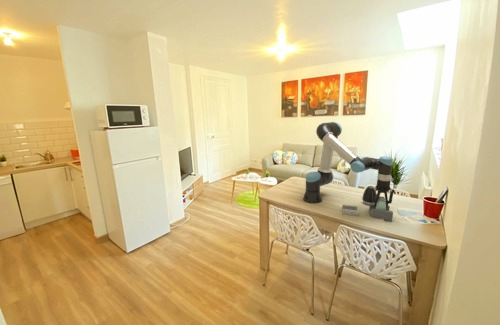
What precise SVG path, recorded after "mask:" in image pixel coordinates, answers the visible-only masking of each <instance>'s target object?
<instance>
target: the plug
mask: <svg viewBox="0 0 500 325" xmlns="http://www.w3.org/2000/svg"><path fill="white" fill-rule="evenodd" d="M377 202H378V209H380V210H385V204H386V202H385V196H381V195H380V196H379V199H378V201H377Z"/></svg>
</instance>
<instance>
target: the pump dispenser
mask: <svg viewBox="0 0 500 325" xmlns="http://www.w3.org/2000/svg"><path fill="white" fill-rule="evenodd" d="M372 187H374V186H372V185H368V186H366V188H365V190H364V192H363V194H362V197H361V199H362V202H363V204H364V205H367V206H369V204H370V203H375V202H373V201H372ZM377 191H378V190H377V189H376V190H375V197H374V200H375V198H376V195H377Z"/></svg>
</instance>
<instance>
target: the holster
mask: <svg viewBox="0 0 500 325" xmlns="http://www.w3.org/2000/svg"><path fill="white" fill-rule="evenodd" d="M341 211H342V215H348V216H355V217H359V214H360V213H359V212H360V211H359V210H358V205H352V204H342V210H341Z"/></svg>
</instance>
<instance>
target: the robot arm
mask: <svg viewBox="0 0 500 325" xmlns="http://www.w3.org/2000/svg"><path fill="white" fill-rule="evenodd" d="M342 131H343V128H342V126H341V124H340V123H338V122H336V121H331V122H330V121H329V122H322V123H320V124H319V125H318V126H317V128H316V130H315V132H316V136H317V138H318V139H319V140H320V141H322V142H323V145H322V153H321V157H320V165H319V167H318V168H317V171H310V172H309V171H308V172H307V174H306V175H305V191H304V194H303V198H302V199H303V201H304V202H306V203H310V204H319V203H321V202H322V201H323V196H322V193H321V187H322V186H326V185H329V184H331V183H332V182H333V181H334V174H333V170H332V169H331V165H332V161H333V155H334V151H335V153H336V154H338V155H339V156H340V157H341V158H342V159H343V160H345V162H346V163H347V164H348V165H349V166H350V170H351V172H353V173H357V174H358V173H363V172H364V171H369V170H376V171H377V177H376V178H377V179H376V185H375V186H373V187H372V201H373V202H375V203H374V206H375V207H376V209H378V202H377V201H378V199H379V196H381V194H383V195H384V198H385V202H386V204H385V210H386V208H388V205H390V204H392V202H393V197H394V193H395V189H394V188H391V180H392V179H391V178H392V171H393V165H394V164H393V162H394V161H393V160H394V159H393V157H391V156H385V155H384V156H380V157H379V158H374V157H369V156H362V157H361V158H360V157H359V156H358V155H357V154H356V153H354V151H352V150H351V149H350V148H349V147H348V146H346V144H344V143H343V142H342V141H341V140H340V139H338V137H339V136H340V135H341V134H342ZM376 189H377V190H376ZM375 190H376V194H377V195H376V198H375V200H374V197H375ZM388 192H389V197H388Z"/></svg>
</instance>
